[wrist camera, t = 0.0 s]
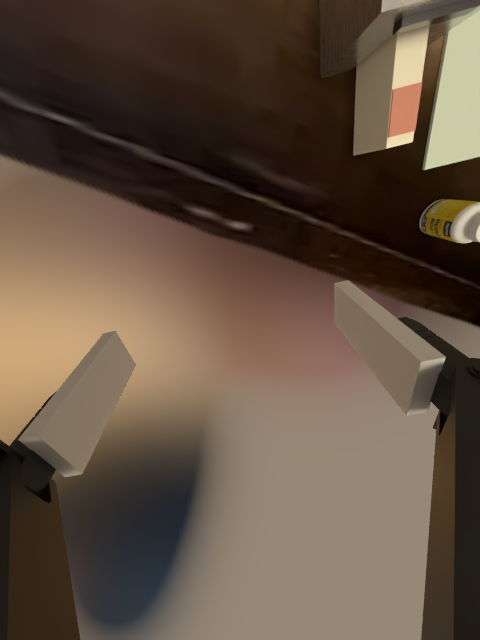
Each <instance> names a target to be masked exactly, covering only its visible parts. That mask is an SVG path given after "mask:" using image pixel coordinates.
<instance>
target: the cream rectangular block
mask: <svg viewBox="0 0 480 640" xmlns="http://www.w3.org/2000/svg"><path fill="white" fill-rule="evenodd" d="M429 26H430V25H428V26H425V27H421V28H417V29H414V30H410V31H407V32H403V33H399V34H396V35H393V34H392V35H391V36H390V37H389V38H387V39H386V40H385V41H384V42H383V43H382V44H381V45H380V46H378V47H377V48H376V49H375V50H374V51H373V52H372V53H371V54H369V55H368V56H367V57H366V58H365V59H364V60H363V61H362V62H360V63H359V64H358V65H357V67H356V94H355V121H354V148H353V156H354V155H359V154H363V153H368V152H373V151H377V150H382V149H387V148H391V147H395V146H399V145H403V144H407V143H411V142H413V137H414V131H415V128H416V122H417V115H418V108H419V101H420V94H421V87H422V75H423V68H424V61H425V54H426V47H427V40H428V33H429Z"/></svg>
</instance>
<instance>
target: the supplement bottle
mask: <svg viewBox="0 0 480 640" xmlns="http://www.w3.org/2000/svg"><path fill="white" fill-rule="evenodd" d="M419 226H420V229H421V231H422V232H423V233H425V234H428V235H432V236H435V237H439V238H443V239H446V240H450V241H454V242H458V243H469V242H472V241H475V242H480V202H473V201H462V200H450V199H441V200H438V201H435V202H433V203H432V204H430V205H429V206H428V207H427V208H426V209H425V210H424V212H423V213H422V215H421V218H420V221H419Z"/></svg>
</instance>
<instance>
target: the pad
mask: <svg viewBox="0 0 480 640" xmlns="http://www.w3.org/2000/svg"><path fill="white" fill-rule="evenodd" d="M476 157H480V11H478V12H477V13H475V14H474V15H472V16H471V17H469V18H468V19H466V20H465V21H463V22H462V23H461V24H459V25H458V26H456V27H455V28H453V29H452V30H450V31H449V32H447V33H446V34H445V38H444V44H443V50H442V56H441V62H440V68H439V74H438V79H437V85H436V91H435V97H434V103H433V109H432V115H431V121H430V126H429V132H428V138H427V144H426V150H425V156H424V162H423V168H422V170H426V169H430V168H434V167H439V166H443V165H447V164H451V163H455V162H459V161H463V160H468V159H472V158H476Z"/></svg>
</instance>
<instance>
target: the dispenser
mask: <svg viewBox="0 0 480 640" xmlns="http://www.w3.org/2000/svg"><path fill="white" fill-rule="evenodd" d="M478 11H480V0H319V24H320V73H321V78H325V77H329V76H333V75H336V74H340V73H344V72H347V71H351V70H353V69H354V68H355V67H356V66H357V65H358V64H359V63H360V62H362V61H363V60H364V59H365V58H366V57H367V56H368V55H369V54H371V53H372V52H373V51H374V50H375V49H376V48H377V47H378V46H380V45H381V44H382V43H383V42H384V41H385V40H386V39H387V38H389V37H390V36H391V35H392V34H393V35H396V34H399V33H403V32H407V31H410V30H414V29H417V28H421V27H425V26H428V25H430V26H429V33H428V40H427V46H428V45H430V44H431V43H432V42H434V41H435V40H437V39H438V38H440V37H441V36H443V35H444V34H446V33H447V32H449V31H450V30H452V29H453V28H455V27H456V26H458V25H459V24H461V23H462V22H463V21H465V20H466V19H468V18H469V17H471V16H472V15H474V14H475V13H477V12H478Z"/></svg>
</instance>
